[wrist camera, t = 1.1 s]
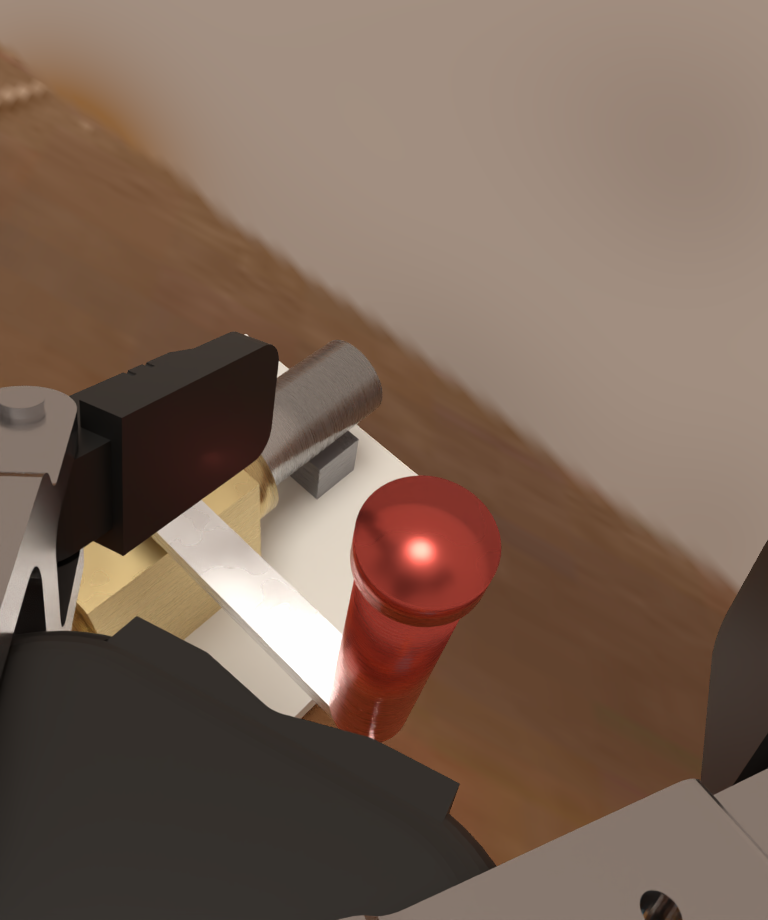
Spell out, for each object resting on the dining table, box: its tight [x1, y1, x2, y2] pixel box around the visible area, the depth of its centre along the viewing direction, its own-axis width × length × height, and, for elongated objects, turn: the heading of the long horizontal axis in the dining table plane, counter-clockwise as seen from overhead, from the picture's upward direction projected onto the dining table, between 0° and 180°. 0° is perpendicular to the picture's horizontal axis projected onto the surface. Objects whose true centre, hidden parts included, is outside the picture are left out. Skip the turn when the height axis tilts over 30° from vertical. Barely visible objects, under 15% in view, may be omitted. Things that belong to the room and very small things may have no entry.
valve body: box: [71, 340, 382, 640], centre depth 33 cm, size 7×28×10 cm, turn 137°
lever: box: [151, 476, 501, 742], centre depth 22 cm, size 17×3×12 cm, turn 47°
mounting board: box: [184, 334, 418, 719], centre depth 38 cm, size 20×29×2 cm
